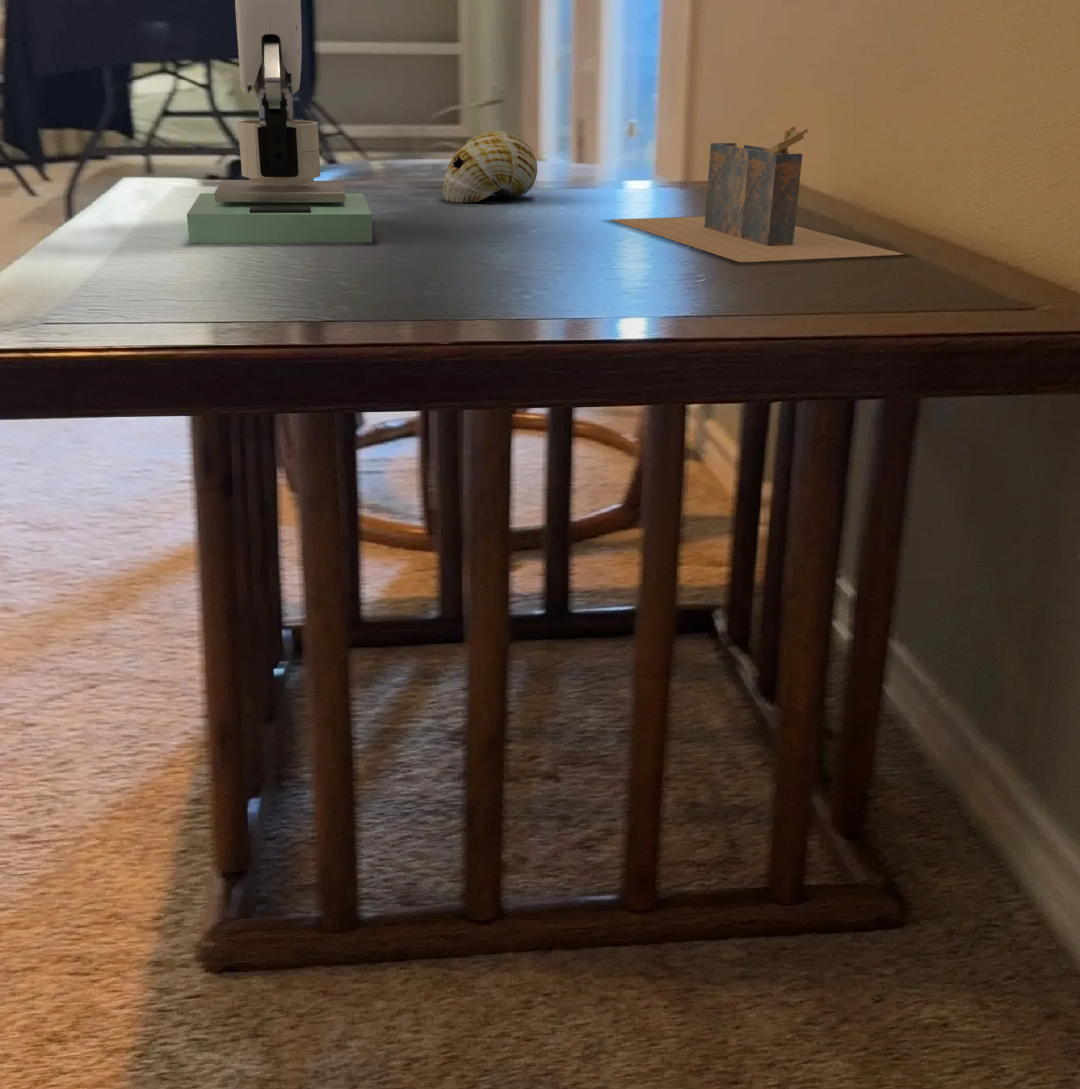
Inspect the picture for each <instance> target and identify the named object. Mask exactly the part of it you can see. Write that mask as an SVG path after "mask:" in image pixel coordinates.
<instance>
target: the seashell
mask: <svg viewBox="0 0 1080 1089" xmlns="http://www.w3.org/2000/svg"><path fill="white" fill-rule="evenodd" d="M537 175H538V162H537V158H536V155H535V152H534V150H533V149H532V147H531V146H530V145H529V144H528V143H527V142H526V141H525V140H524V139H522V138H520V137H519V136H517V135H515V134H513V133H510V132H506V130H493V131H491V130H490V131H486V132H483V133H481V134H479V135H476V136H475V137H473V138H471V139H470V140H468V142H466V143H465V144H464V146H463V147H461V148H459V149H458V150H457V151H456V152H455V153H454V154H453V156H452V158H451V159H450V161H449V164H448V165H447V168H446V172H445V174H444V179H443V180H444V182H443V184H442V197H443V198H442V199H443V200H444V201H446V202H451V203H460V204H461V203H467V204H468V203H477V202H481V201H482V200H486V198H488V197H490V196H491V195H493V196H497V197H502V198H516V197H522V196H524V195H526V194H527V193H528V192H529V191H530V190H531V189H532V188H533V186H534V184H535V181H536V179H537Z"/></svg>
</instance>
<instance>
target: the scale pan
mask: <svg viewBox="0 0 1080 1089" xmlns="http://www.w3.org/2000/svg"><path fill="white" fill-rule="evenodd" d="M213 193H214V195H215V202H345V194H346V191H345V187H344V184H343V181H342V180H314V182H312V183H308V184H299V185H265V184H256V183H252V182H250V180H221V181H220V182H219V184H218V186H217V188H216V189H215V192H213Z"/></svg>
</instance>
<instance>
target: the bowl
mask: <svg viewBox="0 0 1080 1089" xmlns="http://www.w3.org/2000/svg"><path fill="white" fill-rule="evenodd" d="M318 123H319V122H318V121H314V120H304V119H294V120H293V127H294V128H296V134H297V152H298V169H299V174H298V176H296V177H263V176H262V175H261V173H260V159H259V144H258V130H257V127H260V122H259V119H245V120H244V119H243V120H238V122H237V127H238V128H237V129H238V142H239V154H240V155H239V156H240V167H241V176H242V177H244V178H247V179H249V181H250V182H252V183H256V184H265V185H299V184H308V183H312V182H314V181H315V179H316V178H320V177H321V160H320V142H319V141H320V137H319V124H318ZM266 127H267V125H266ZM286 127H287V123H286Z"/></svg>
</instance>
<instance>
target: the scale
mask: <svg viewBox="0 0 1080 1089" xmlns="http://www.w3.org/2000/svg"><path fill="white" fill-rule="evenodd" d="M214 193H215V192H207V193H206V192H200V193H199V194H198V196H197V198H196V199H195V200H194V203H193V204H192V206H191V207H190V209H189V210H188V212H187V213H186V220H187V221H186V222H187V223H186V224H187V232H188V243H189V245H191V244H192V245H197V244H200V245H201V244H204V245H205V244H206V245H208V244H209V245H210V244H212V245H213V244H223V245H224V244H371V243H372V244H373V220H372V218H373V217H372V216H373V215H372V212H371V210H370V207H369V204H368V201H367V198H366V196H365V193H345V202H215V195H214Z"/></svg>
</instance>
